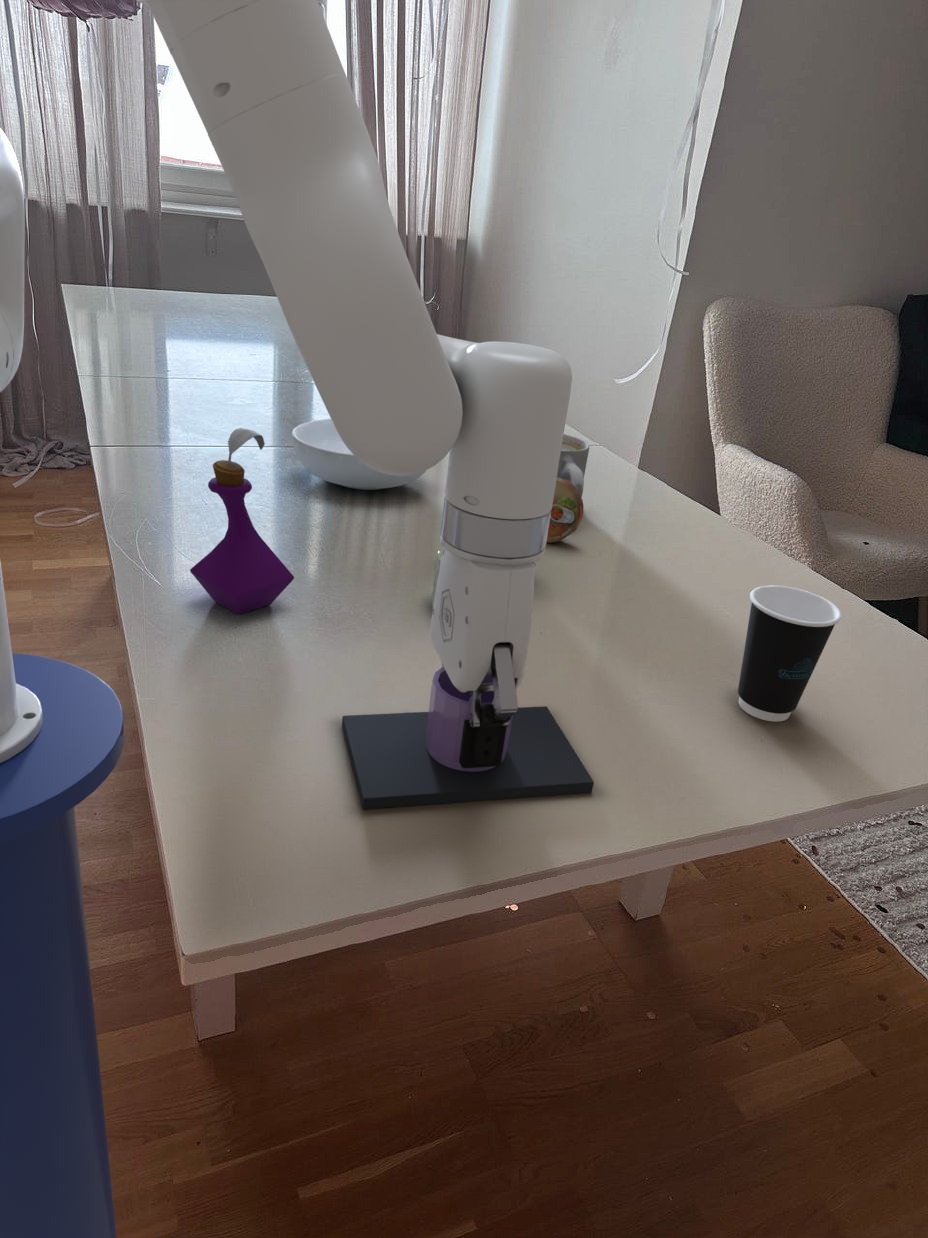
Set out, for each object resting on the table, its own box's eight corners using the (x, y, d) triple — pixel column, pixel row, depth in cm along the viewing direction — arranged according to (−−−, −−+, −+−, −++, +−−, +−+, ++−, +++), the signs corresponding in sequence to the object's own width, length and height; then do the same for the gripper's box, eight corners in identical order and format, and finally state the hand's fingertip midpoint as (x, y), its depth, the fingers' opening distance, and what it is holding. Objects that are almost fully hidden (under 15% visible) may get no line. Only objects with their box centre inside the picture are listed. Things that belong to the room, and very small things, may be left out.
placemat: (362, 809, 65) (363, 798, 64) (341, 725, 74) (342, 715, 74) (592, 792, 70) (594, 782, 69) (545, 715, 79) (546, 706, 79)
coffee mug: (503, 495, 134) (512, 429, 129) (565, 497, 136) (576, 433, 132) (526, 527, 122) (537, 456, 118) (594, 529, 125) (607, 460, 120)
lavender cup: (436, 774, 68) (444, 707, 65) (417, 727, 73) (424, 663, 71) (516, 769, 70) (528, 703, 67) (493, 723, 75) (502, 661, 72)
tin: (472, 519, 123) (479, 459, 119) (483, 514, 125) (491, 455, 121) (570, 550, 116) (581, 488, 113) (580, 544, 119) (591, 483, 115)
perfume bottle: (234, 625, 87) (234, 445, 80) (189, 599, 92) (185, 425, 84) (294, 606, 93) (300, 435, 85) (249, 581, 97) (250, 416, 89)
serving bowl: (385, 455, 146) (388, 413, 143) (460, 496, 131) (465, 450, 128) (266, 465, 134) (267, 419, 131) (334, 511, 119) (336, 461, 116)
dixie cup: (739, 677, 90) (768, 577, 85) (818, 709, 86) (852, 605, 81) (708, 706, 84) (737, 600, 79) (791, 741, 80) (826, 632, 75)
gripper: (417, 485, 69) (399, 683, 77) (477, 577, 55) (447, 811, 63) (508, 487, 72) (482, 680, 79) (590, 576, 57) (548, 802, 65)
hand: (467, 736), depth 71 cm, fingers closed on lavender cup, 6 cm apart
